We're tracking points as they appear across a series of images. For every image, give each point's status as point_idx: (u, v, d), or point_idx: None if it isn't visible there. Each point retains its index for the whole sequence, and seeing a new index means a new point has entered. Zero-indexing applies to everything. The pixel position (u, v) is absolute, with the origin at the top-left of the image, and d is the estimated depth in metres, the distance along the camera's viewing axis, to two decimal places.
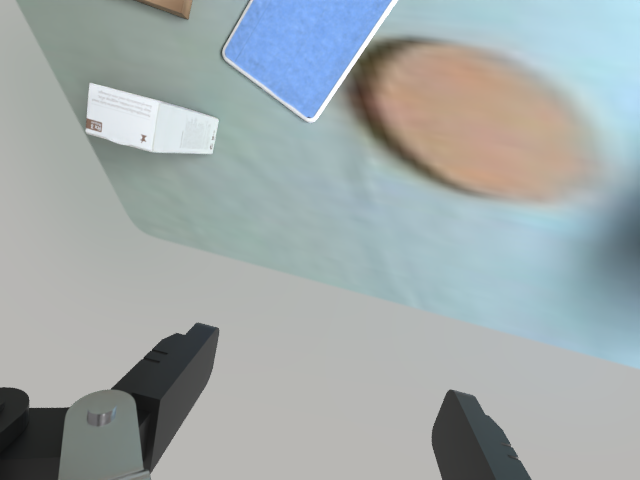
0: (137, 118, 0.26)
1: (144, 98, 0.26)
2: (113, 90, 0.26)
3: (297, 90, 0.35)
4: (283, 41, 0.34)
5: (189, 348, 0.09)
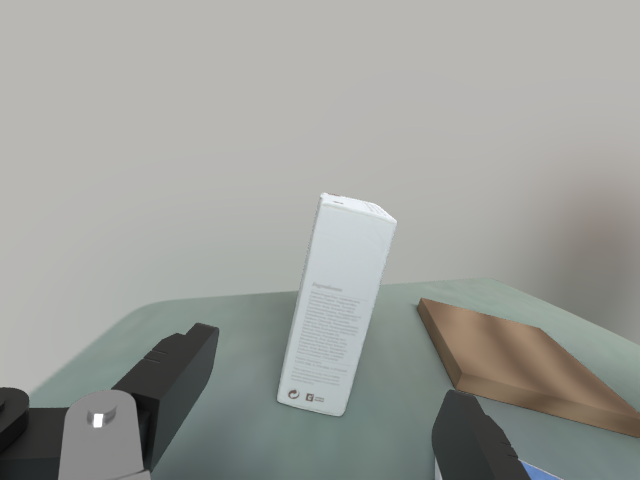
0: (363, 207, 0.18)
1: None
2: (382, 209, 0.20)
3: None
4: None
5: (189, 348, 0.09)
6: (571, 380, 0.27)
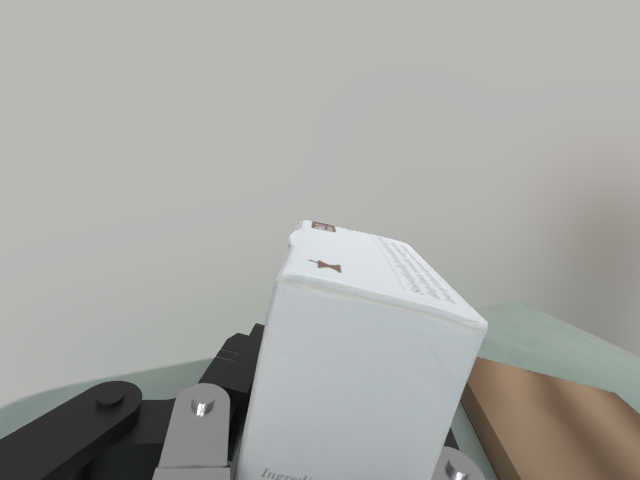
0: (389, 271, 0.07)
1: None
2: (422, 261, 0.10)
3: None
4: None
5: (256, 347, 0.10)
6: None
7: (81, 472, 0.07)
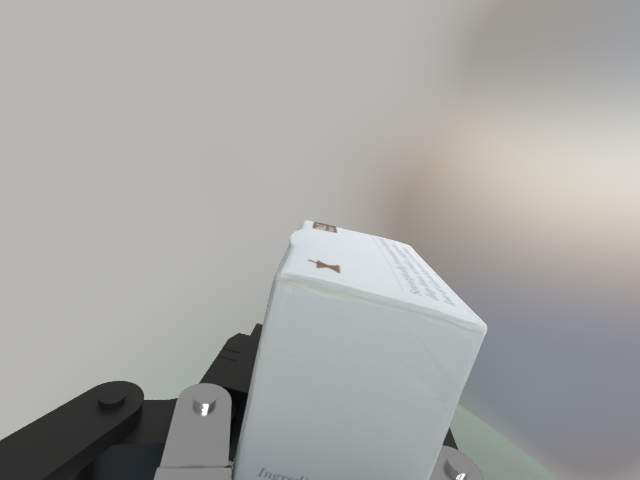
0: (389, 272, 0.07)
1: None
2: (424, 263, 0.10)
3: None
4: None
5: None
6: None
7: (83, 472, 0.07)
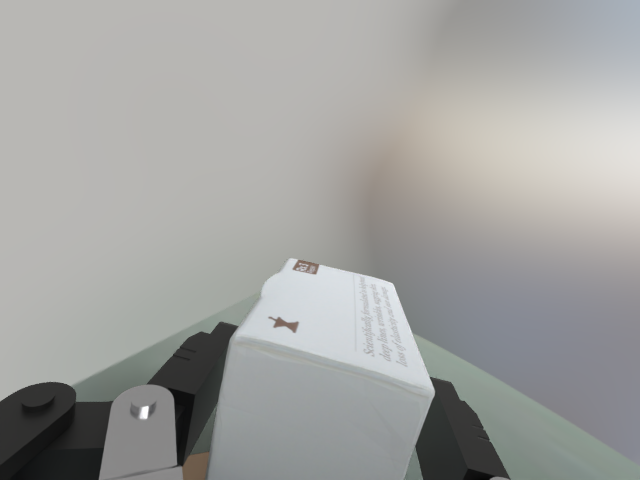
0: (350, 326, 0.08)
1: (418, 354, 0.07)
2: (399, 306, 0.10)
3: None
4: None
5: (216, 346, 0.10)
6: None
7: None
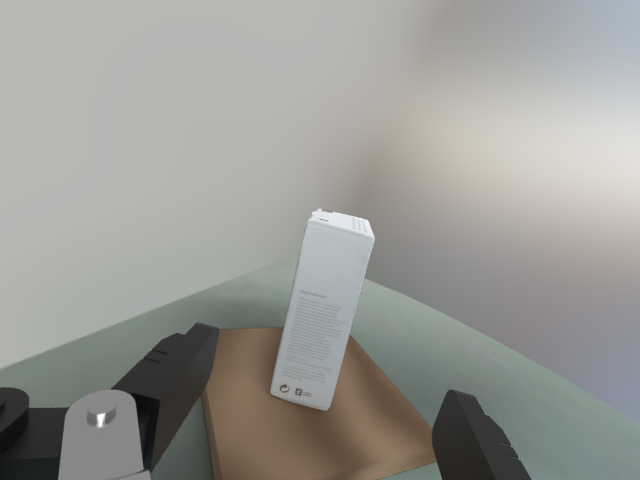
0: (347, 224, 0.20)
1: (372, 232, 0.20)
2: (368, 225, 0.22)
3: None
4: None
5: (189, 348, 0.09)
6: (373, 413, 0.22)
7: None
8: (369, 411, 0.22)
